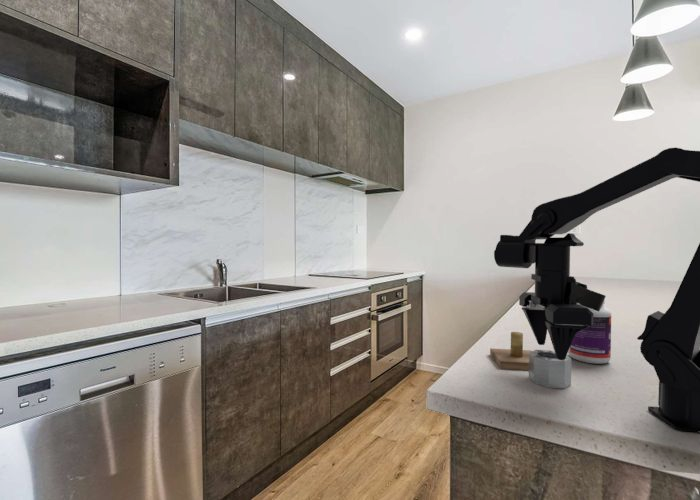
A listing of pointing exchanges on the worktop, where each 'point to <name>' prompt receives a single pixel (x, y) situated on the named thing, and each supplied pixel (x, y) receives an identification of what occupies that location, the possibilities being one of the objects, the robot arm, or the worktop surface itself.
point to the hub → (549, 369)
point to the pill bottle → (594, 339)
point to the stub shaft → (512, 354)
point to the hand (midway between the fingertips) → (550, 351)
